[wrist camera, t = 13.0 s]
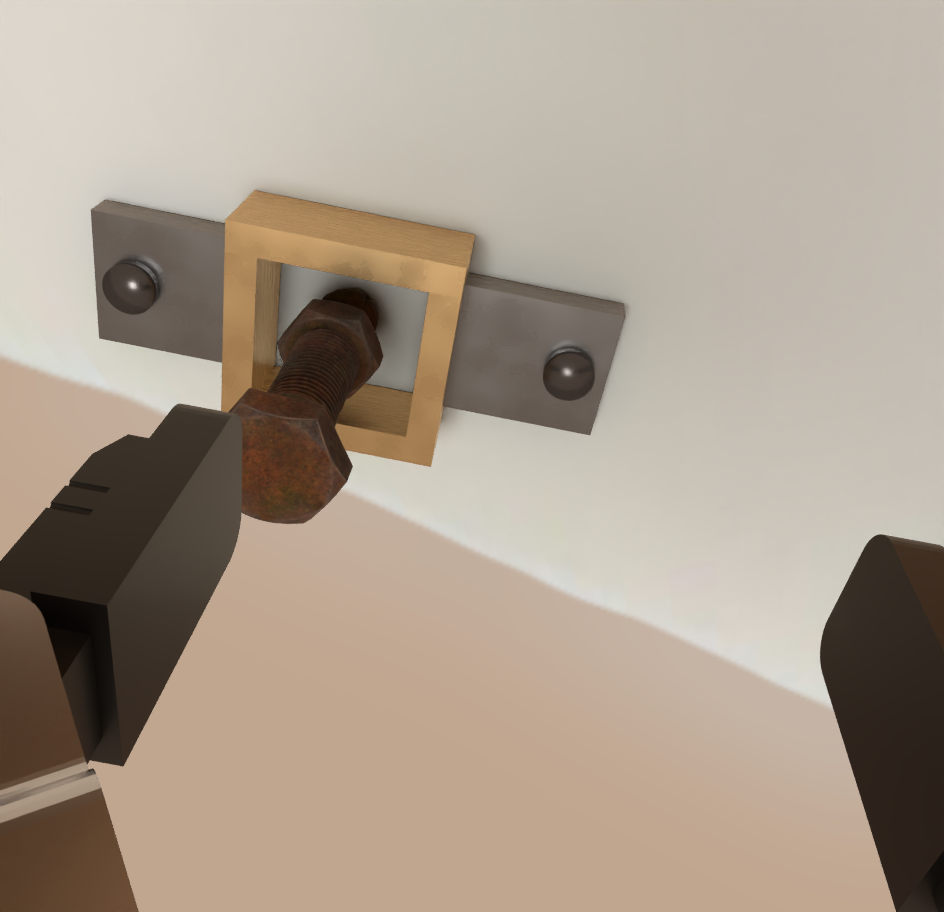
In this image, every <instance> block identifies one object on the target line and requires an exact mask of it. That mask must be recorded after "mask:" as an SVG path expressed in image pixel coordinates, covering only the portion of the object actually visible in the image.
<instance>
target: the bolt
mask: <svg viewBox="0 0 944 912" xmlns="http://www.w3.org/2000/svg"><path fill="white" fill-rule="evenodd" d="M366 296H367V295H365V294H364V293H363V292H361V291H359V290H357V289H350V290H337V291H334V292H332V293H329V294H327V295H326V296H325V297H324V298H323V299H322V300H317V299H313V300H312V301H311V302H310V303H309V304H308V305H307V306H306V307H305V308H304V309H303V310H302V312H301V313H300V314H299V315H298V316H297V317H296V319H295V320H294V321H293V322H292V323H291V325H290V326H289V327H288V328H287V330H286V331H285V332H284V333H283V335H282V336H281V338H280V340H279V341H278V343H277V345H278V348H279V352H280V355H281V358H282V361H283V363H284V364H283V366H282V367H281V369H280V371H279V373H278V375H277V376H276V378H275V379H274V381H273V383H272V384H271V386H270V388H269V390H268V392H265V391H261V390H256V389H252V388H249V389H248V390H247V391H246V392H245V393H244V395H243V396H242V397H241V398H240V399H239V400H238V401H237V403H236V404H235V405H234V406H233V407H232V408H231V409H230V411H229V412H228V413H234V414H238V415H239V416H240V419H241V422H242V509H241V512H242V513H244V514H245V515H248V516H250V517H253V518H255V519H259V520H263V521H267V522H272V523H282V524H298V523H305V522H306V521H308V520H310V519H311V518H312V517H314V516H315V515H316V514H317V513H318V512H319V511H320V510H321V509H323V508H324V507H325V506H326V505H327V504H328V503H329V502H330V501H331V500H332V499H333V498H334V497H335V495H336V494H337V493H338V492H339V491H340V489H341V488H342V487H343V486H344V485H345V483H346V482H347V480H348V477H349V475H350V472H351V469H352V467H353V466H352V463H351V461H350V459H349V457H348V455H347V453H346V451H345V448H344V446H343V444H342V442H341V440H340V438H339V436H338V434H337V431H336V429H335V426H336V423H337V420H338V416H339V414H340V412H341V410H342V408H343V406H344V403H345V401H346V399H349V398H350V397H351V396H353V395H354V394H355V393H356V392H357V391H358V390H359V389H360V388H361V387H362V386H363V385H364V384H365V383H366V382H367V381H368V380H369V379H370V377H371V376H372V375H373V374H374V373H375V371H376V370H377V369H378V368H379V366H380V364H381V361H382V359H383V354H382V350H381V346H380V343H379V340H378V337H377V335H376V332H375V330H376V327H377V324H378V312H377V309H376V306H375V305H374V303H373V301H372V300H371V299H370V300H369V301H368V300H367V299H365V297H366ZM364 299H365V300H364Z"/></svg>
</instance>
